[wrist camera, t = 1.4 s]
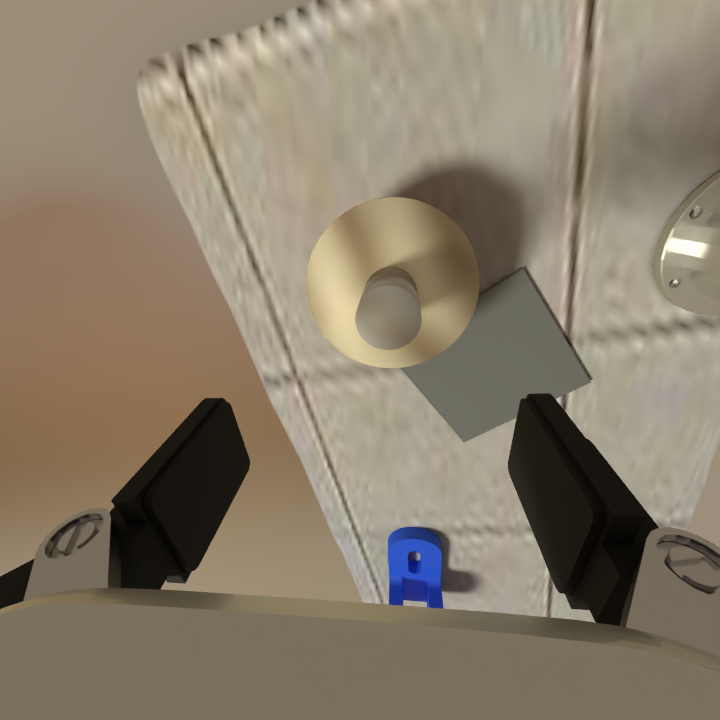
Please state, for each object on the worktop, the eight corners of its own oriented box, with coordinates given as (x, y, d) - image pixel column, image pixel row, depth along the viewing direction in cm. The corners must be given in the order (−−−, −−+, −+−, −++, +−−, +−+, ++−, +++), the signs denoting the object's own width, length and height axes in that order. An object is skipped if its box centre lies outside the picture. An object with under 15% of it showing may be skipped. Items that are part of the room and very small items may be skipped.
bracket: (437, 589, 56) (444, 654, 48) (391, 586, 57) (390, 649, 49) (441, 527, 48) (449, 593, 40) (387, 524, 49) (384, 588, 41)
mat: (521, 267, 28) (523, 268, 28) (588, 380, 33) (590, 382, 33) (390, 354, 34) (390, 356, 34) (463, 440, 39) (464, 442, 38)
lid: (409, 150, 20) (414, 134, 14) (508, 303, 24) (543, 339, 18) (277, 276, 25) (240, 302, 19) (377, 385, 29) (371, 434, 23)
